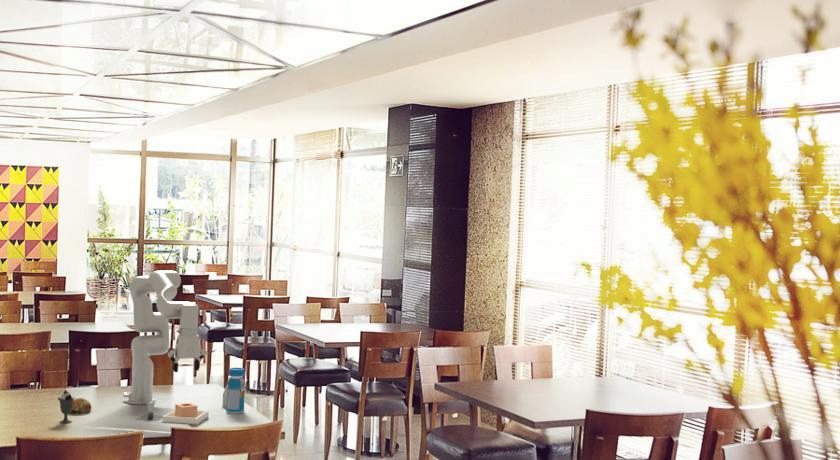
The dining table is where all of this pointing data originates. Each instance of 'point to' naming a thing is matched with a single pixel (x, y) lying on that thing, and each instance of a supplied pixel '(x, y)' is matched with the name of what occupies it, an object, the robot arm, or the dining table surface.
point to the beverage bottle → (235, 391)
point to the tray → (186, 418)
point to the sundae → (66, 405)
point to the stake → (150, 414)
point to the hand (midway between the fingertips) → (186, 370)
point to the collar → (186, 410)
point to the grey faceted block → (225, 397)
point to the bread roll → (80, 406)
